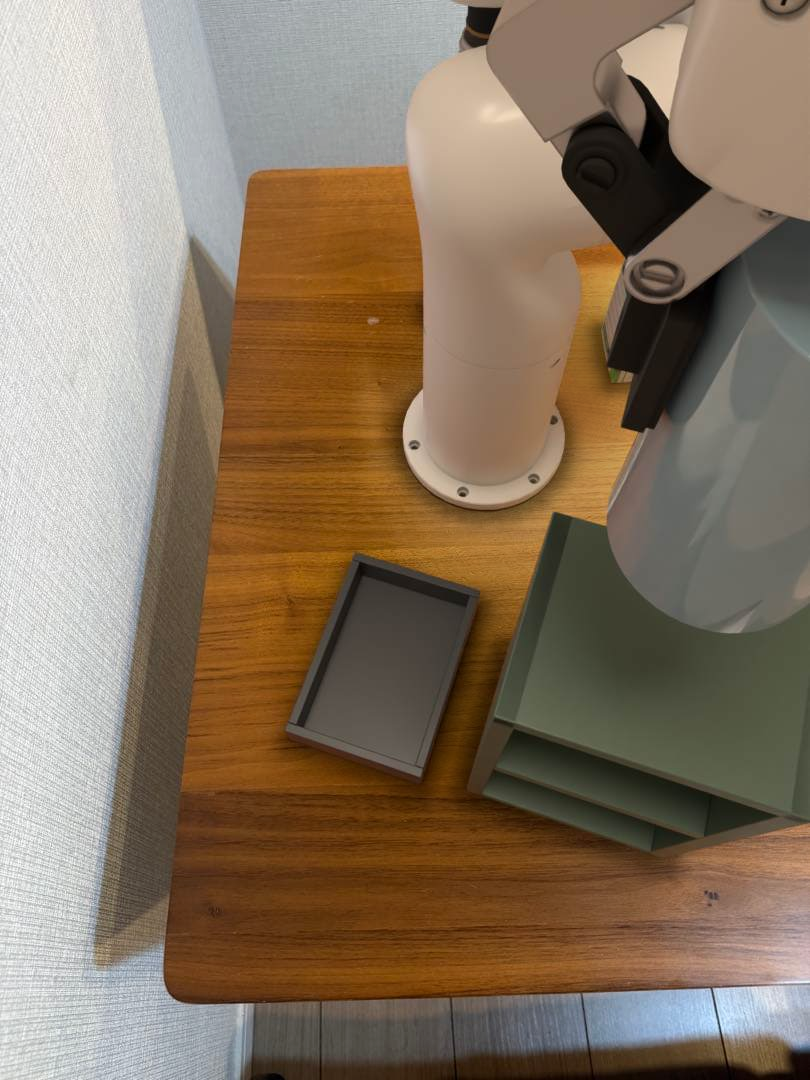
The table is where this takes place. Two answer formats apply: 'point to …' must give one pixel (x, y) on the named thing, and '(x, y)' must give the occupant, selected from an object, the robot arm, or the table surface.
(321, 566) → the table surface
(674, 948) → the table surface
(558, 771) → the shelf
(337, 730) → the tray
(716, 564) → the jug
